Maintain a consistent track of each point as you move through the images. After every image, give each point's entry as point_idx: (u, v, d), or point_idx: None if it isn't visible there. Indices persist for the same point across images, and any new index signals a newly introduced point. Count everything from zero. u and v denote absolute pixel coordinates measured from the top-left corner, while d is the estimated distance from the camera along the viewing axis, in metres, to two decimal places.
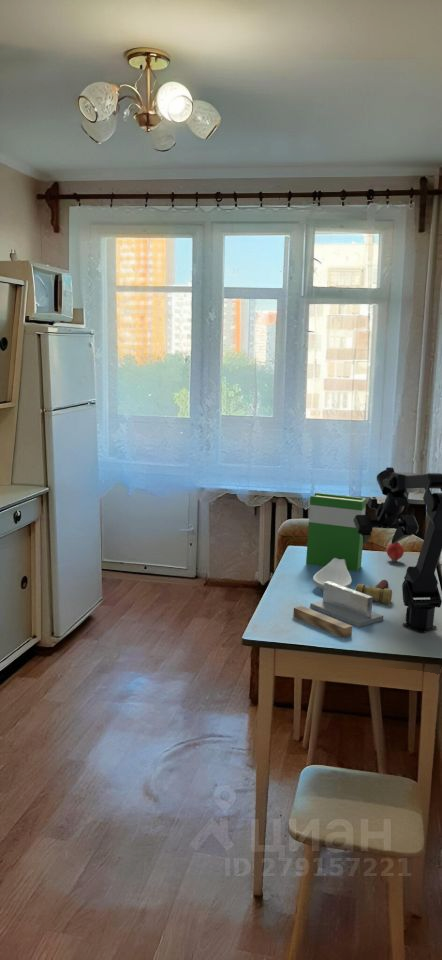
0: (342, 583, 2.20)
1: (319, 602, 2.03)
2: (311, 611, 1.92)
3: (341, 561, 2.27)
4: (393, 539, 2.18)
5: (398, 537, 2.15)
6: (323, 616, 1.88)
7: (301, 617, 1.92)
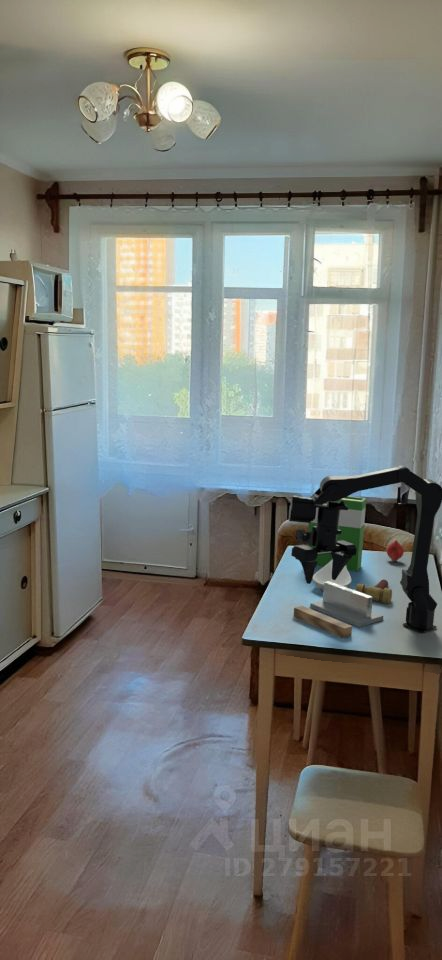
0: (342, 583, 2.20)
1: (319, 602, 2.03)
2: (311, 610, 1.92)
3: None
4: (333, 574, 1.91)
5: (339, 566, 1.90)
6: (323, 616, 1.88)
7: (301, 617, 1.92)
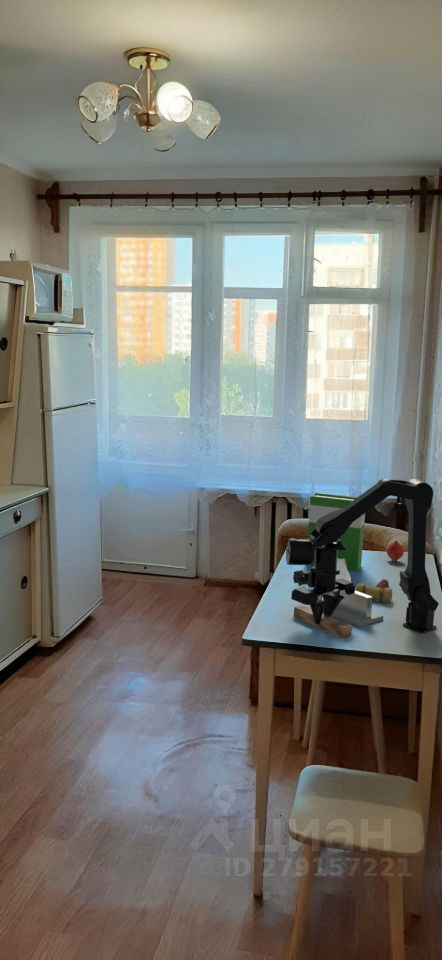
0: None
1: None
2: None
3: (341, 560, 2.28)
4: None
5: (331, 607, 1.87)
6: (323, 615, 1.88)
7: (301, 617, 1.92)
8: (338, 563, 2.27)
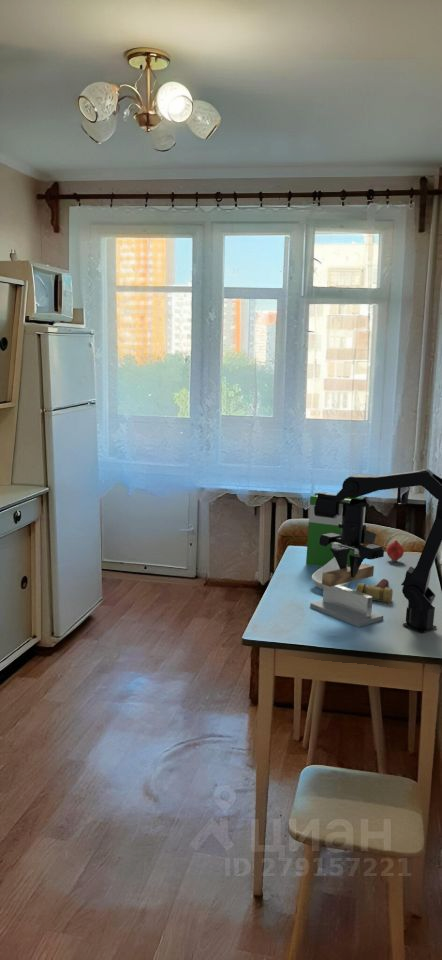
0: None
1: (319, 602, 2.03)
2: (361, 567, 1.98)
3: None
4: None
5: None
6: (349, 569, 1.96)
7: None
8: None
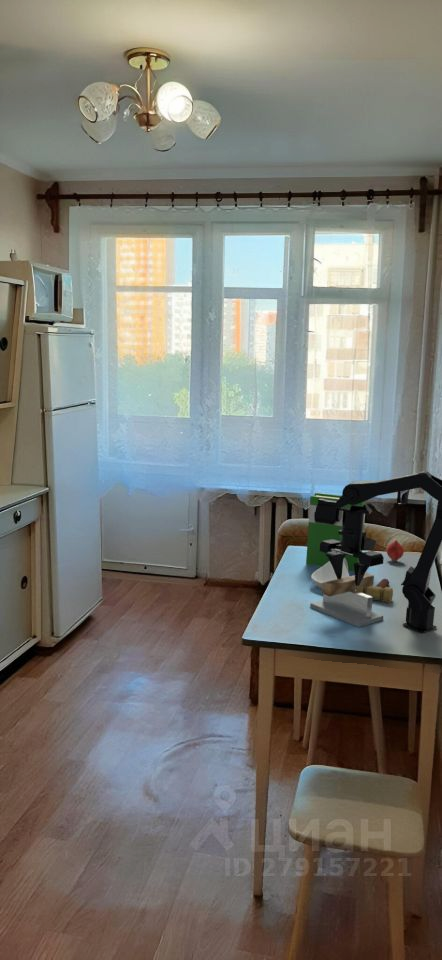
0: None
1: (319, 602, 2.03)
2: None
3: None
4: None
5: None
6: (349, 579, 1.96)
7: None
8: None
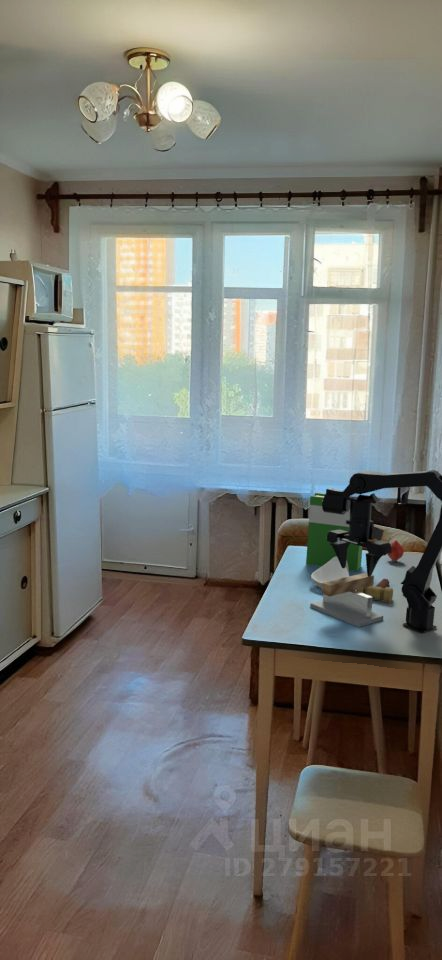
0: None
1: (319, 602, 2.03)
2: (361, 577, 1.99)
3: None
4: None
5: None
6: (349, 579, 1.96)
7: None
8: (338, 562, 2.28)
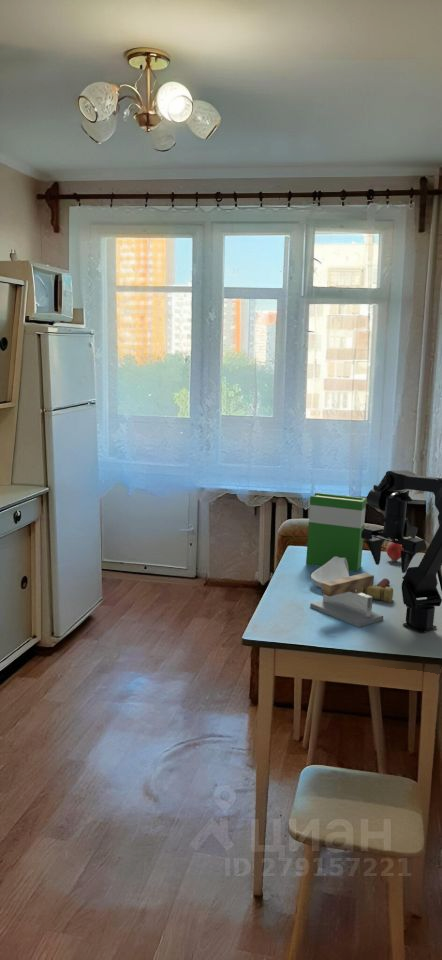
0: None
1: (319, 602, 2.03)
2: (361, 577, 1.99)
3: (341, 559, 2.29)
4: None
5: None
6: (349, 579, 1.96)
7: None
8: (338, 562, 2.28)
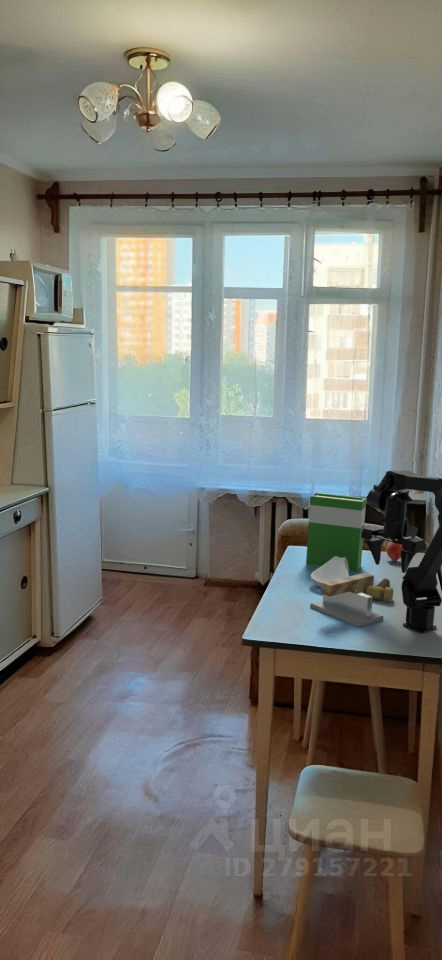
0: None
1: (319, 602, 2.03)
2: (361, 577, 1.99)
3: (341, 559, 2.29)
4: None
5: None
6: (349, 579, 1.96)
7: None
8: (338, 562, 2.28)
